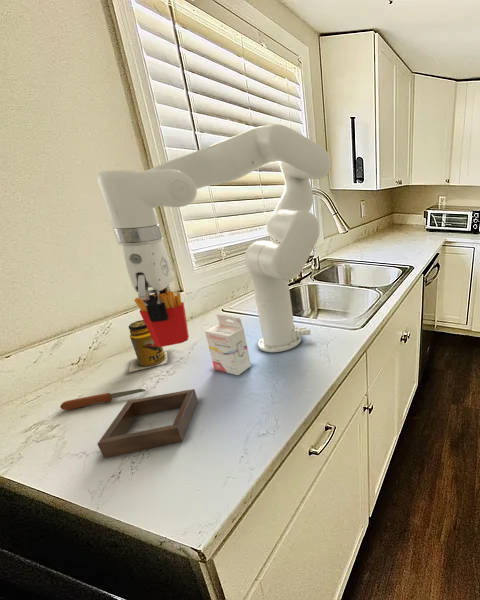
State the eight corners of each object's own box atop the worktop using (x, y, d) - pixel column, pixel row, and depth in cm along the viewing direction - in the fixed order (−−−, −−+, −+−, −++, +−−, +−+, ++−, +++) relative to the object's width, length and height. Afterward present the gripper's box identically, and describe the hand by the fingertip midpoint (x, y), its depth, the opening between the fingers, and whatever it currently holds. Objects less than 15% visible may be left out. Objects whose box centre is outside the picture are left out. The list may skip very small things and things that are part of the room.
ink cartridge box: (213, 370, 87) (200, 320, 82) (227, 360, 92) (216, 313, 86) (238, 376, 85) (227, 325, 79) (252, 366, 89) (242, 317, 84)
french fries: (193, 334, 79) (180, 287, 75) (191, 341, 76) (178, 293, 71) (151, 341, 76) (135, 293, 71) (147, 349, 72) (130, 299, 68)
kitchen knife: (61, 412, 72) (58, 404, 72) (64, 408, 73) (61, 401, 73) (146, 395, 78) (143, 388, 77) (147, 391, 79) (145, 384, 78)
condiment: (167, 363, 91) (155, 324, 86) (128, 373, 86) (114, 332, 82) (167, 352, 96) (156, 315, 92) (131, 360, 92) (117, 322, 88)
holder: (198, 401, 75) (194, 388, 74) (182, 441, 64) (177, 427, 63) (132, 413, 72) (127, 400, 70) (103, 458, 60) (97, 443, 59)
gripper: (144, 241, 60) (171, 329, 67) (173, 228, 75) (192, 301, 82) (95, 244, 58) (128, 335, 65) (134, 230, 73) (157, 305, 80)
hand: (163, 315), depth 73 cm, fingers closed on french fries, 4 cm apart
